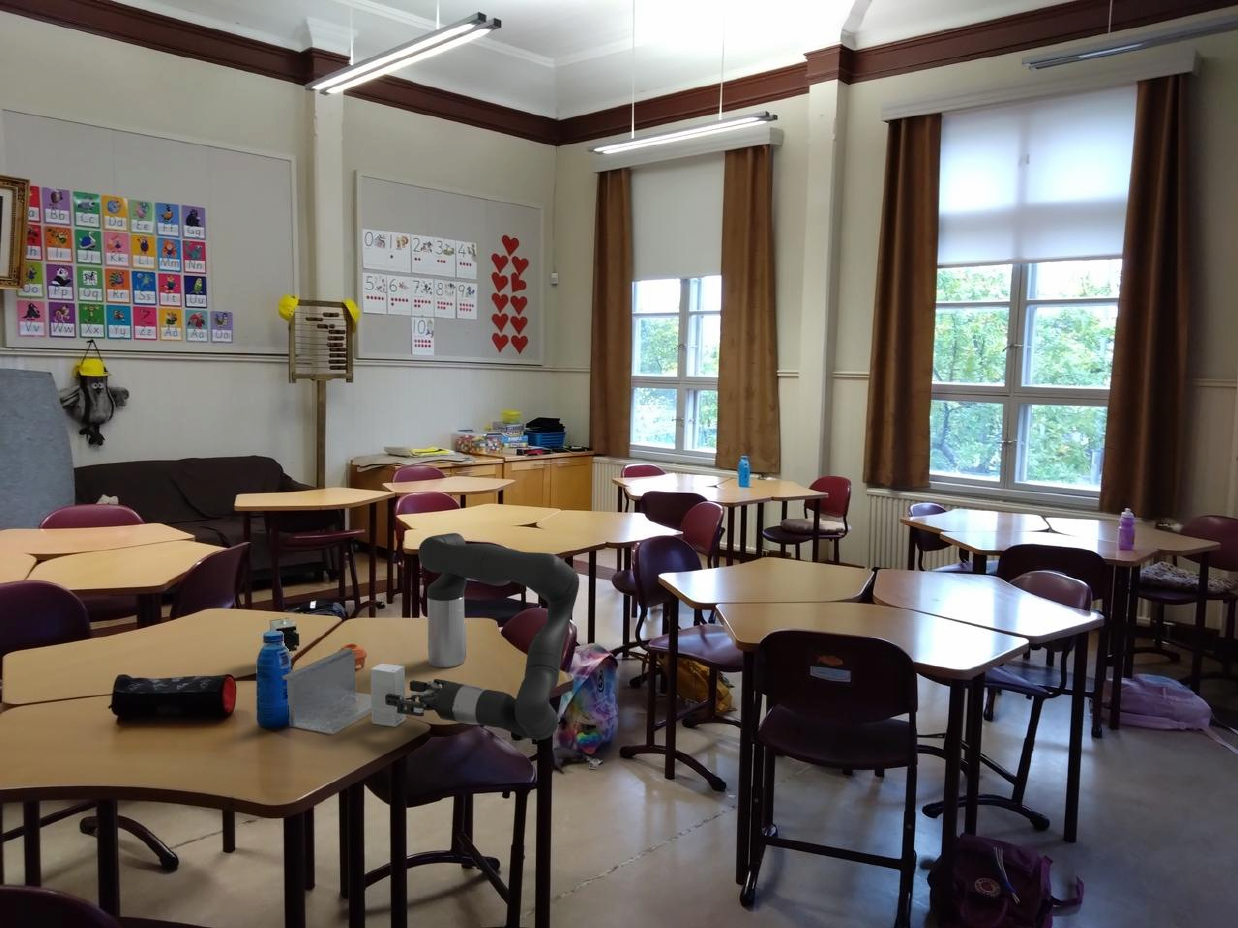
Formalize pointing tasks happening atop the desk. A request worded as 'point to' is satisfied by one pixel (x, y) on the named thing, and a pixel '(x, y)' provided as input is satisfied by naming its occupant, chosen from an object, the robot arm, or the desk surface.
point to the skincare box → (384, 683)
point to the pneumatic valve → (287, 632)
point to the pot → (356, 654)
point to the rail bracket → (326, 694)
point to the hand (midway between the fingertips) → (398, 691)
